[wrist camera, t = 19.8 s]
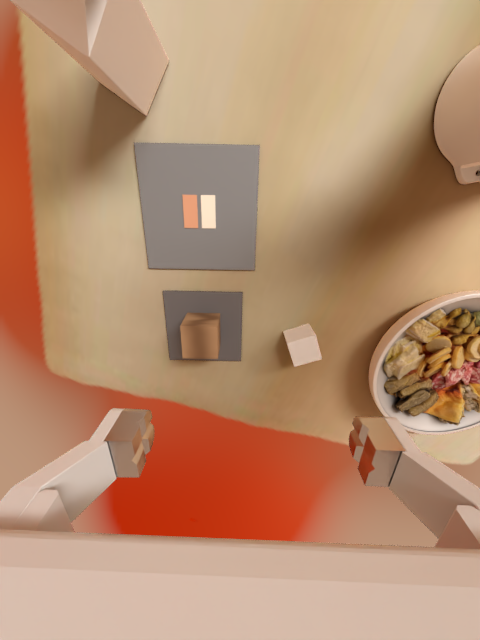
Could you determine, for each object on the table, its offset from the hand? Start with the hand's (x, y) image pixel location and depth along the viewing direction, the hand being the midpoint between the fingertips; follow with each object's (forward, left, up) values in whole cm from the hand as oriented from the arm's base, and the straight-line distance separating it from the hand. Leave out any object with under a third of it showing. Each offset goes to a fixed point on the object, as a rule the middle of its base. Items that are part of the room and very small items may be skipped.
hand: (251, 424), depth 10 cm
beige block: (-11, +14, -36) cm, 40 cm away
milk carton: (+15, -25, -36) cm, 47 cm away
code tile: (+7, -8, -36) cm, 38 cm away
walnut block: (+7, +12, -36) cm, 39 cm away
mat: (+7, +12, -36) cm, 39 cm away
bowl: (-39, +18, -37) cm, 57 cm away
